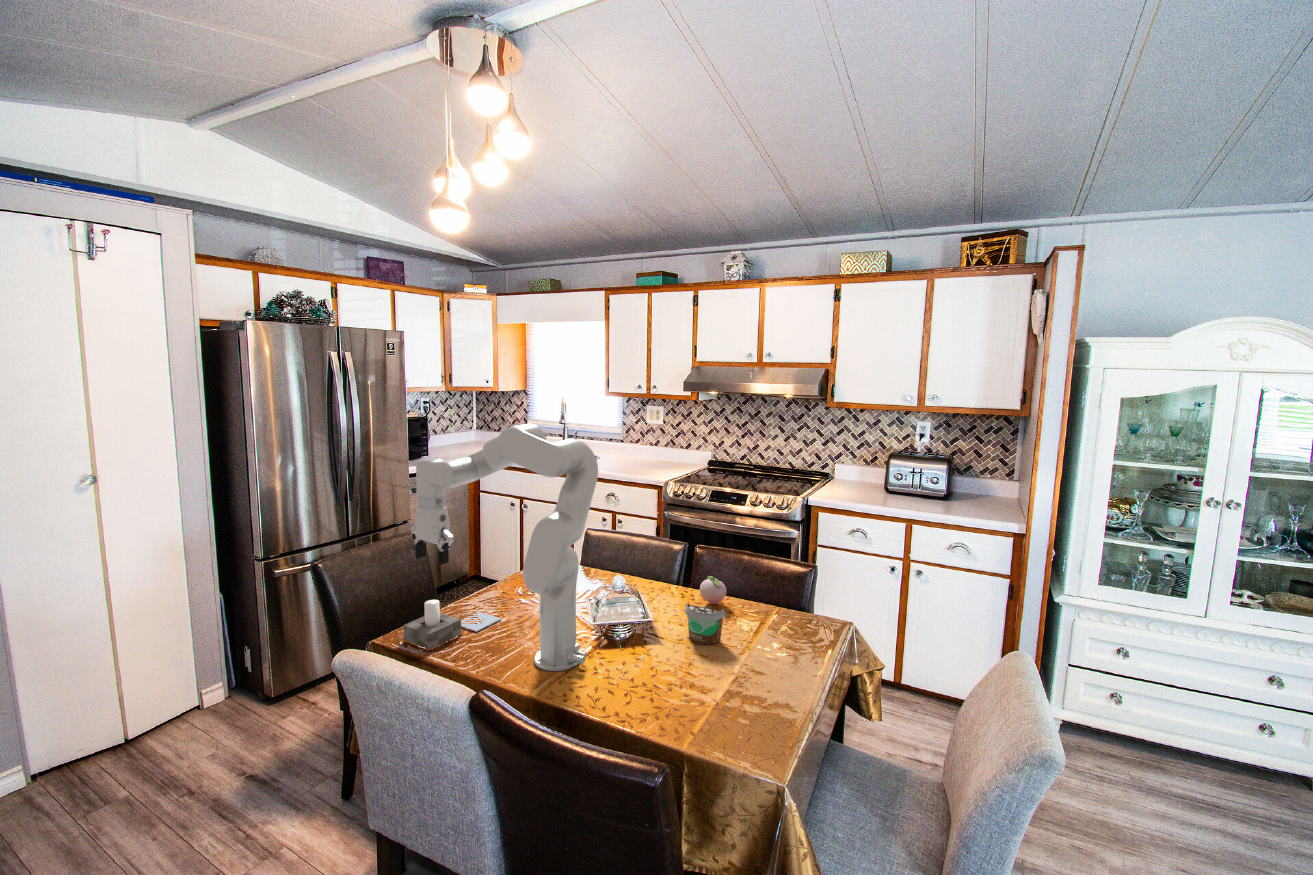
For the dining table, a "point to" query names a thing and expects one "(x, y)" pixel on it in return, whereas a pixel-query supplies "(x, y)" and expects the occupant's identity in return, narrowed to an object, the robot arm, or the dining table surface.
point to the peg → (432, 613)
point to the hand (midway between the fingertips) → (431, 560)
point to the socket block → (432, 631)
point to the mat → (487, 621)
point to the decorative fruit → (712, 590)
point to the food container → (704, 624)
